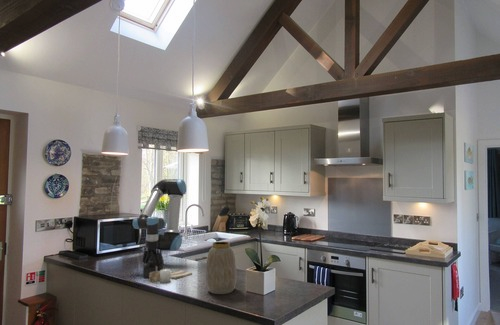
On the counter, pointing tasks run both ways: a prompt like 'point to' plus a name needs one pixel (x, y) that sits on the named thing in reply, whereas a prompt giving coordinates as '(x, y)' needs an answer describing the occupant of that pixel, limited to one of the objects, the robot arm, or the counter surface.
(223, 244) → the vase
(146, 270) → the camera
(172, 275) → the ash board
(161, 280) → the white short cylinder
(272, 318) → the counter surface
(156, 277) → the beech block
